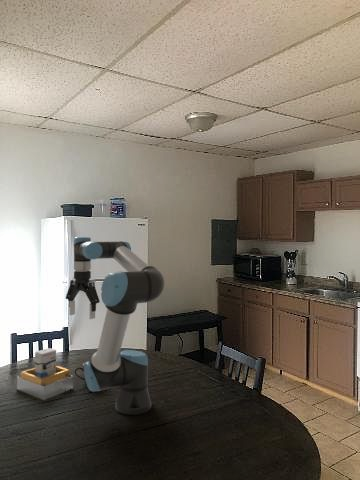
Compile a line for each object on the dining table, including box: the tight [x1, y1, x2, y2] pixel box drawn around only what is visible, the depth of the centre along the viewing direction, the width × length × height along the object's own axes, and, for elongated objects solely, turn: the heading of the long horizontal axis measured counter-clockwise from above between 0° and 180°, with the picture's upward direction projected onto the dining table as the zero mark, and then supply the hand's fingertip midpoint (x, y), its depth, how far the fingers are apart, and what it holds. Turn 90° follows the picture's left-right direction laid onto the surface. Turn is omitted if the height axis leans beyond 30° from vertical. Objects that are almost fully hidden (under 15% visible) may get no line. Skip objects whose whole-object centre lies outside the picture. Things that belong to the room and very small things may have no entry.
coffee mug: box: [74, 360, 91, 387], centre depth 191 cm, size 12×9×10 cm
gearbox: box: [16, 365, 74, 401], centre depth 186 cm, size 24×16×8 cm, turn 55°
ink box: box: [34, 347, 57, 378], centre depth 184 cm, size 8×5×12 cm, turn 145°
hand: (82, 316), depth 182 cm, fingers open, 13 cm apart
